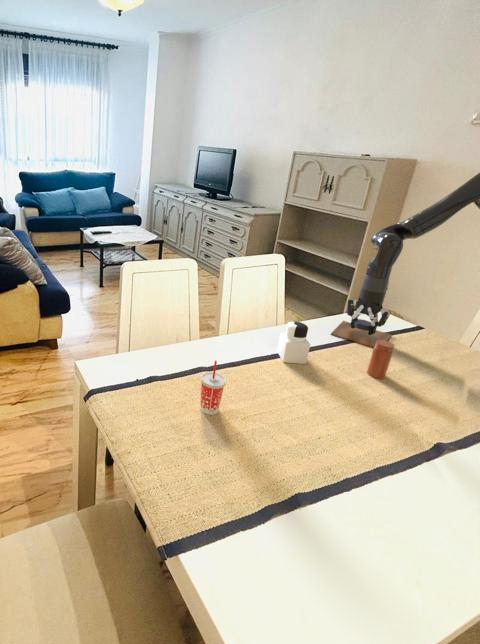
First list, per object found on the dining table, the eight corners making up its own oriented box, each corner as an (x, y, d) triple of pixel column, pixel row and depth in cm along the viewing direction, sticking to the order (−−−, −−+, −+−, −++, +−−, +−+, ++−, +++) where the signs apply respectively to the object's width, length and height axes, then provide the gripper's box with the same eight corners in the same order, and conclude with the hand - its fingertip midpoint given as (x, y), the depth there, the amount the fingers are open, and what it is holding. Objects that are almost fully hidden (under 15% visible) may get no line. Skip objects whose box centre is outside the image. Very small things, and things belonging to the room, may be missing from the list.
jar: (385, 373, 117) (395, 342, 113) (385, 380, 113) (395, 349, 109) (366, 368, 119) (375, 338, 116) (366, 375, 115) (375, 344, 112)
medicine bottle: (298, 353, 127) (305, 320, 123) (306, 364, 120) (314, 330, 116) (276, 351, 127) (282, 318, 123) (282, 362, 121) (289, 328, 117)
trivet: (390, 335, 142) (390, 334, 141) (381, 350, 131) (381, 349, 130) (342, 322, 152) (343, 320, 152) (330, 334, 141) (330, 333, 140)
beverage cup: (221, 404, 100) (228, 357, 95) (221, 419, 94) (228, 369, 90) (198, 399, 101) (203, 352, 97) (196, 413, 96) (202, 365, 91)
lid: (350, 325, 141) (352, 320, 140) (359, 322, 144) (360, 318, 143) (366, 331, 136) (368, 327, 136) (374, 328, 139) (376, 324, 139)
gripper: (347, 283, 139) (336, 325, 144) (390, 296, 127) (377, 341, 133) (358, 280, 142) (347, 321, 148) (401, 292, 131) (388, 337, 137)
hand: (361, 331), depth 141 cm, fingers closed on lid, 5 cm apart
